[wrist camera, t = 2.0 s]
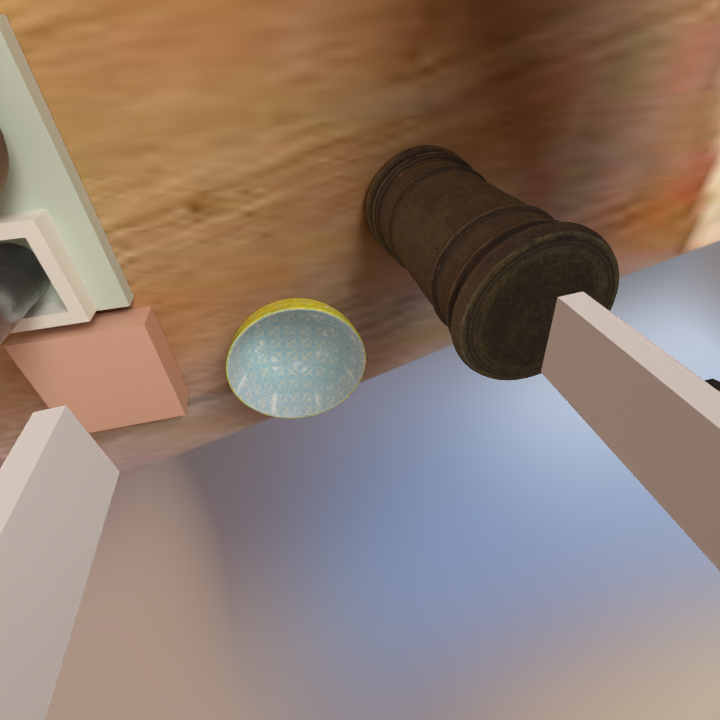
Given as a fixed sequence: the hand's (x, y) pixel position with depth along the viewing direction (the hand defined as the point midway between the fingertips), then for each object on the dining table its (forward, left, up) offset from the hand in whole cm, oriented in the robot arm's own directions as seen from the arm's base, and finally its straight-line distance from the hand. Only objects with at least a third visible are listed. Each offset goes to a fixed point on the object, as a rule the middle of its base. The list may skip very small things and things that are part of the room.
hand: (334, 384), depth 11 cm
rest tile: (+14, -17, -24) cm, 33 cm away
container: (+3, +11, -24) cm, 27 cm away
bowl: (+13, -1, -24) cm, 28 cm away
